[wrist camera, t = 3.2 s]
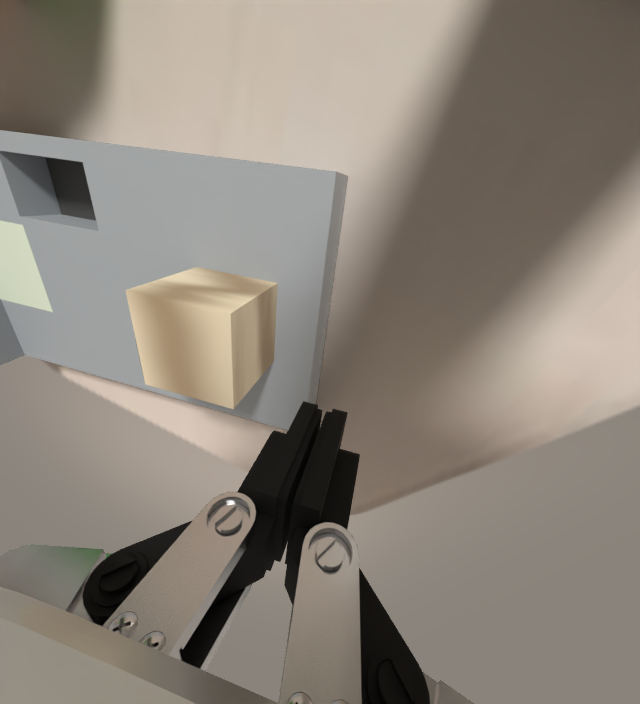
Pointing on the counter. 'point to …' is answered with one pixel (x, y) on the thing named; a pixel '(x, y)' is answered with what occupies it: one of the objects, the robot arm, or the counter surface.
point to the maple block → (205, 333)
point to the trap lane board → (160, 254)
